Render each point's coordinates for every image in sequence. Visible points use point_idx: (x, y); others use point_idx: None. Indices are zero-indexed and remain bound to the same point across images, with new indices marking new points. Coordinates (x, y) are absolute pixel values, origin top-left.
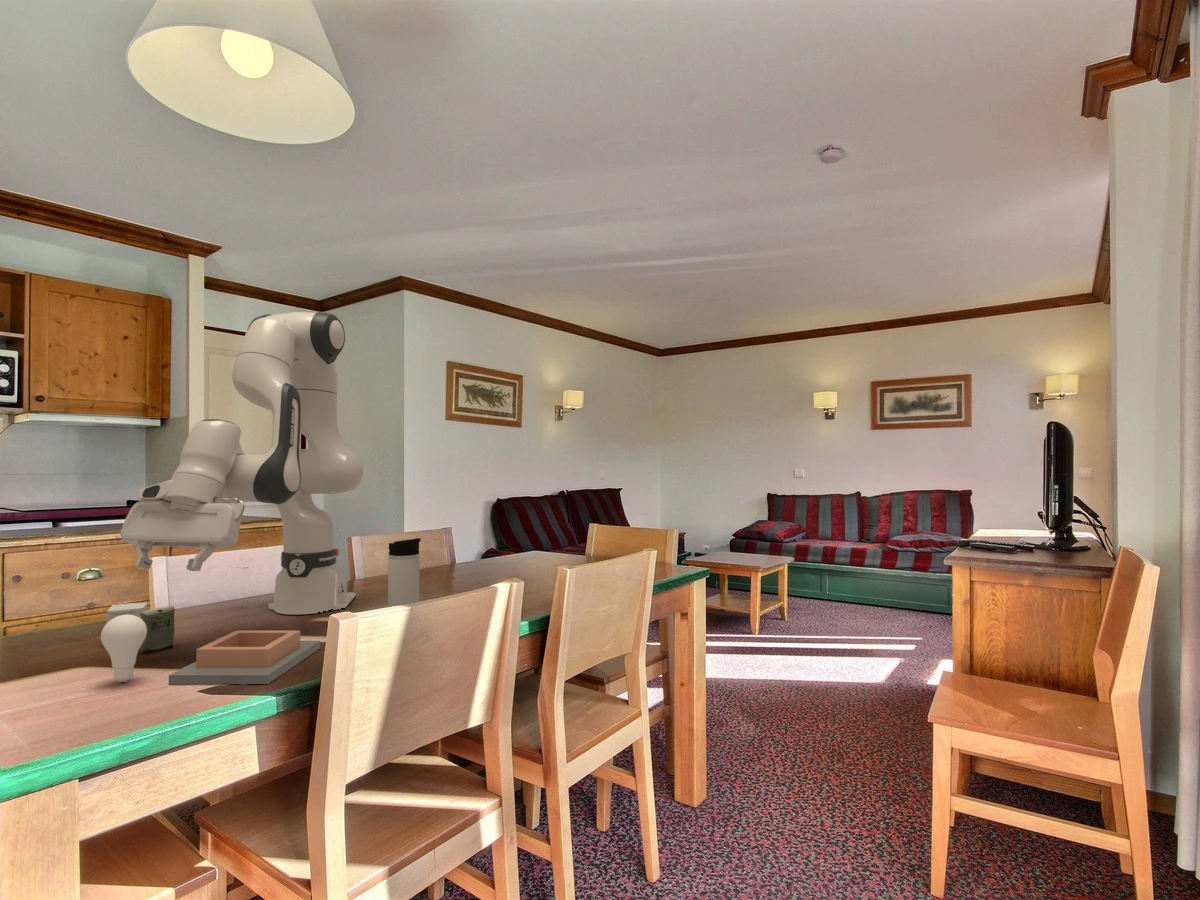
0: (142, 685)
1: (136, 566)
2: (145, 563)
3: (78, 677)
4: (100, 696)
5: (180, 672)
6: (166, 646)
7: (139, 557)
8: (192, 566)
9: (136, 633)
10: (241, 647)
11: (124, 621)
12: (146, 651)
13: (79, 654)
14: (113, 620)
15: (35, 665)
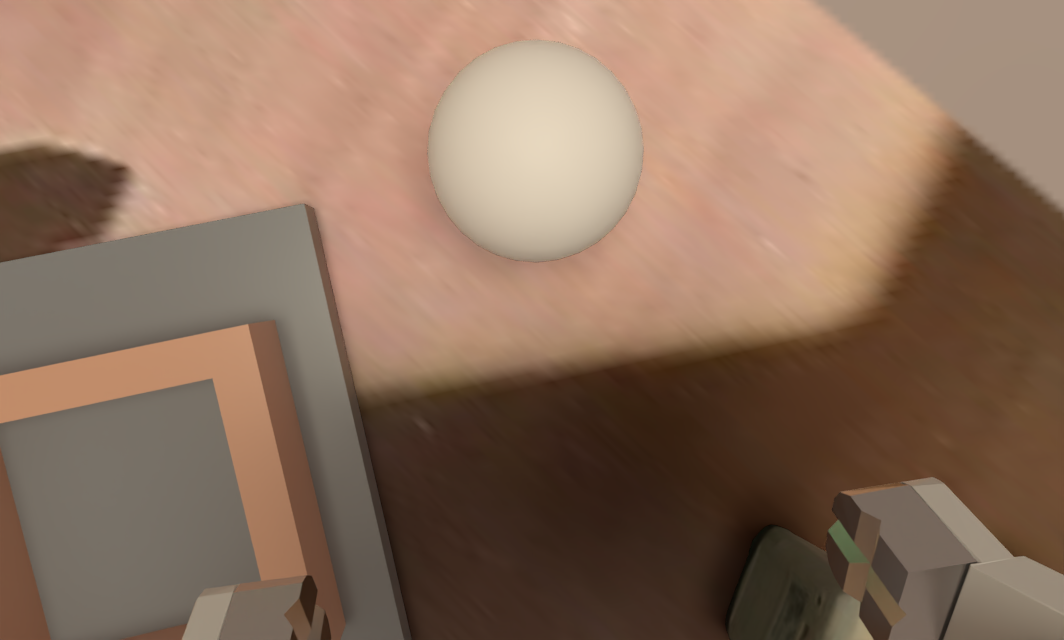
0: (412, 180)
1: (923, 481)
2: (870, 541)
3: (746, 209)
4: (461, 45)
5: (283, 243)
6: (733, 606)
7: (994, 552)
8: (222, 594)
9: (429, 130)
10: (37, 402)
11: (486, 81)
12: (764, 532)
13: (1012, 448)
14: (557, 67)
15: (1044, 293)
